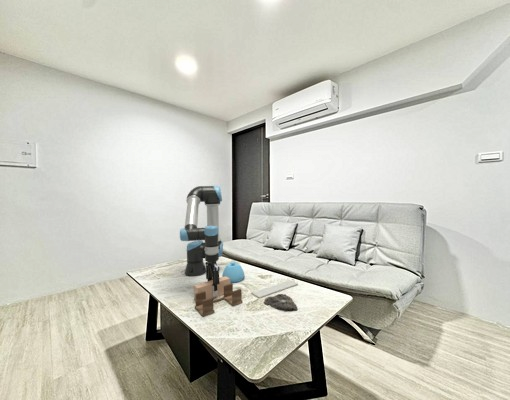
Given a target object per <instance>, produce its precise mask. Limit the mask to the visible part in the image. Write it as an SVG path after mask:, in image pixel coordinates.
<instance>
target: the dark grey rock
mask: <svg viewBox="0 0 510 400" xmlns="http://www.w3.org/2000/svg"><path fill="white" fill-rule="evenodd" d="M263 303H264V305H265V306H270V307H271V308H273V309H275V310H278V311H284V312H294V311H298V306H297V304H296V303H295V301H294V300H293V298H292V297H291V296H289V295H287V294H286V293H285V294H284V293H278V294H277V295H273V296H272V295H269V296H266V298H265V299H264V301H263Z"/></svg>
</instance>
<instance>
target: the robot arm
mask: <svg viewBox="0 0 510 400" xmlns="http://www.w3.org/2000/svg"><path fill="white" fill-rule="evenodd" d="M201 202H202V203H204V205H205V207H206V224H207V226H205V227H198V221H199V219H198V218H199V207H200V206H199V205H200V204H201ZM221 202H223V197H222V191H221V187H220V186H218V185H204V186H203V185H199V186H196V187H194V188H192V189H191V190H190V191H189V192H188V194H187V195H186V203H187V205H186V214H185V220H184V221H185V222H184V228H181V229H180V230H179V240H180V241H181V242H189V243H187V245H186V267H185V269H184V275H185V274H186V275H185V276H187V275H188V277H199V276H202V275H204V274H205V278H206V280H207V281H210V280H213V284H212V291H213V297H214V298H216V297H215V296H217V297H219V296H218V289H217V285H218V284H219V278H220V266H218V264H217V262H218V261H219V259H220V258H221V257H222V256H223V249H224V242H223V240H222V238H220V225H219V224H220V223H219V222H220V220H219V218H220V217H219V206H220V205H221ZM204 261H205V263H204Z"/></svg>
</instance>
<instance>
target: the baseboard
mask: <svg viewBox="0 0 510 400" xmlns="http://www.w3.org/2000/svg"><path fill="white" fill-rule="evenodd" d="M298 285H299V282H296V281H294V279H293V278H292V279H287V280H286V281H282V282H280V283H277V284H274V285H271V286H267V287H263V288H261V289H258V290H254V291H251V292H250V294H251V295H253V296H254V297H256V298H257V299H258V300H259V299H260V300H261V299H263V298H265V297H266V298H267V297H269V296H272V295H274V294H276V293H280V292H282V291H285V290H288V289H291V288H293V287H297V286H298Z"/></svg>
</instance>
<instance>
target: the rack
mask: <svg viewBox="0 0 510 400" xmlns="http://www.w3.org/2000/svg"><path fill="white" fill-rule="evenodd" d="M233 285H234V283H230V284H228V285H224V294H223V296H222V297H221V298H218V299H217V298H216V299H215V300H214V298H209V299H206V292H205V291H203V292H200V293H196V294H195V296H196V301H195V305H194V309H195V310H196V311H197V312H198V314H200V315H201V317H202V318H203V317H204V318H205V317H206V316H210V315H211V314H215V313H216V312H215V309H214V304H215V303H218V302H221V301H225V302H226V303H227V304H229V305H230V306H232V307H234V306H237V305H240V304H243V301H244V300H243V298H242V297H243V296H242V288H238V289H236V290H235V289H234V286H233Z"/></svg>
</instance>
